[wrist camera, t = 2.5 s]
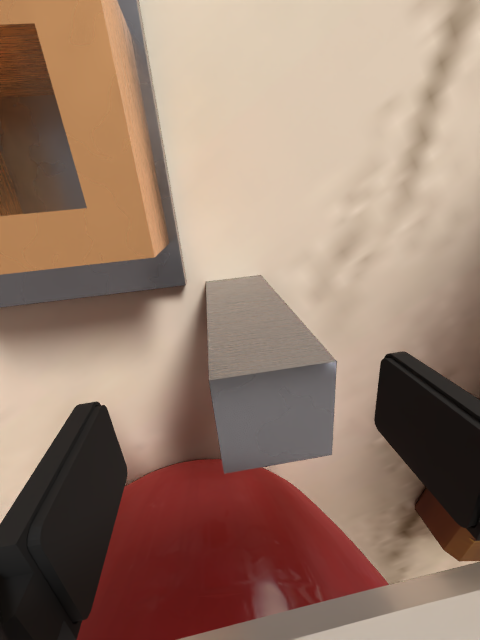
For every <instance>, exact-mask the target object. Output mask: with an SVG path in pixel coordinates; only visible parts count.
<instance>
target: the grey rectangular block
mask: <svg viewBox="0 0 480 640" xmlns="http://www.w3.org/2000/svg"><path fill="white" fill-rule="evenodd" d="M206 302H207V335H208V368H209V384H210V390H211V397H212V403H213V409H214V415H215V421H216V427H217V434H218V440H219V446H220V452H221V458H222V465H223V471H224V474H226V473H232V472H237V471H243V470H249V469H254V468H260V467H266V466H271V465H277V464H283V463H288V462H294V461H300V460H305V459H311V458H317V457H322V456H328V455H332V442H333V422H334V403H335V384H336V365H337V361H336V360H335V359H334V358H333V357H332V355H331V354H330V353H329V352H328V351H327V350H326V349H325V347H324V346H323V345H322V344H321V343H320V342H319V341H318V339H317V338H316V337H315V336H314V335H313V334H312V333H311V332H310V330H309V329H308V328H307V327H306V326H305V325H304V324H303V322H302V321H301V320H300V319H299V318H298V317H297V316H296V314H295V313H294V312H293V311H292V310H291V309H290V308H289V307H288V305H287V304H286V303H285V302H284V301H283V300H282V299H281V297H280V296H279V295H278V294H277V293H276V292H275V291H274V289H273V288H272V287H271V286H270V285H269V284H268V283H267V282H266V280H265V279H264V278H263V277H262V276H261V275H259V276H250V277H242V278H234V279H225V280H217V281H209V282H206Z"/></svg>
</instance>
